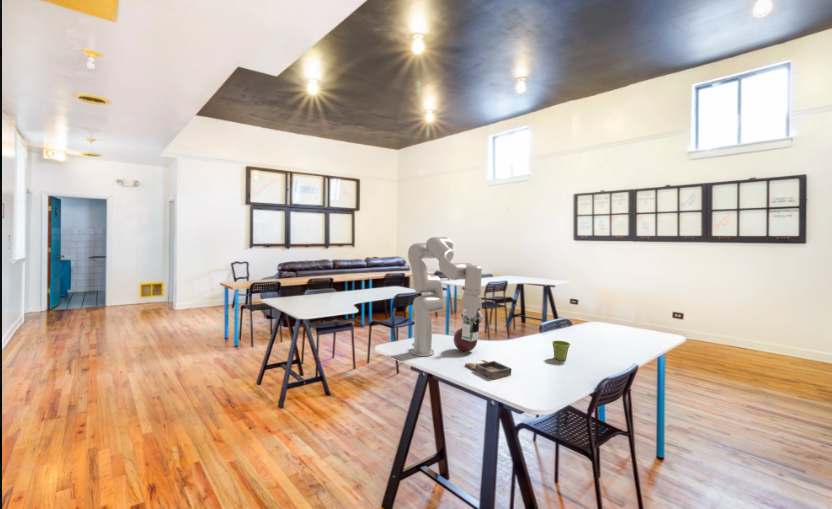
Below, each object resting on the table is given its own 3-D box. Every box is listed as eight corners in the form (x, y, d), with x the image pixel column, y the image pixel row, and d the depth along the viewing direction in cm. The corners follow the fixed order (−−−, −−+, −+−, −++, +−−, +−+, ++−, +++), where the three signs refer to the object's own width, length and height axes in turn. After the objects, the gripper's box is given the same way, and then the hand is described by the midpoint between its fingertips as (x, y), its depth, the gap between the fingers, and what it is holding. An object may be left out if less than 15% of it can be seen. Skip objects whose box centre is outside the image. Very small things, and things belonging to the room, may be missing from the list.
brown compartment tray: (465, 366, 213) (465, 359, 213) (483, 362, 219) (483, 356, 219) (492, 379, 196) (492, 372, 196) (511, 374, 202) (511, 368, 202)
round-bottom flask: (476, 355, 230) (478, 319, 228) (452, 353, 232) (453, 317, 230) (477, 348, 242) (478, 314, 241) (453, 346, 244) (455, 312, 243)
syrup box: (461, 338, 198) (462, 308, 197) (469, 336, 202) (470, 306, 201) (470, 341, 194) (472, 310, 192) (478, 339, 198) (480, 309, 197)
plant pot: (570, 362, 223) (571, 346, 222) (552, 360, 225) (552, 344, 224) (568, 356, 232) (569, 341, 231) (550, 355, 234) (550, 339, 233)
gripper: (454, 289, 201) (452, 326, 203) (478, 296, 186) (476, 336, 188) (467, 288, 205) (465, 324, 207) (491, 295, 190) (489, 334, 192)
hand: (470, 329), depth 198 cm, fingers closed on syrup box, 6 cm apart
